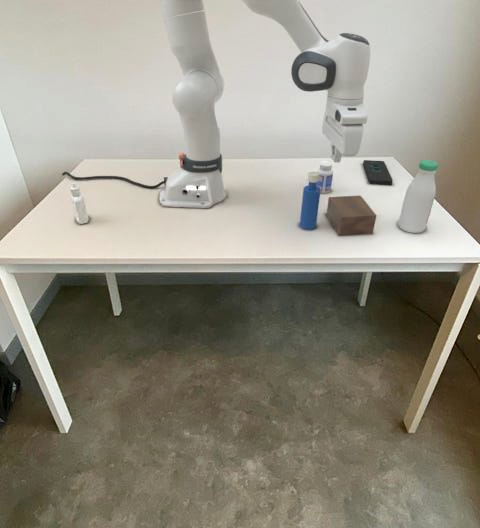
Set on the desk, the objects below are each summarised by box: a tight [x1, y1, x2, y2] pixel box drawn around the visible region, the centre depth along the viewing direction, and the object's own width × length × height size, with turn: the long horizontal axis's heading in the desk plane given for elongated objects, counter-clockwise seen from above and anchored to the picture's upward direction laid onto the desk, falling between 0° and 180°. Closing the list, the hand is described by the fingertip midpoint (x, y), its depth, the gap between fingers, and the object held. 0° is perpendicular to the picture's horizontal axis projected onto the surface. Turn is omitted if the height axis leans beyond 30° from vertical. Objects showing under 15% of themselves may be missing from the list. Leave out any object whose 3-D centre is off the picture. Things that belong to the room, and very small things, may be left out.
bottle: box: [299, 171, 321, 231], centre depth 117 cm, size 14×5×15 cm
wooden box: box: [326, 195, 377, 236], centre depth 120 cm, size 10×13×6 cm
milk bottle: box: [397, 159, 439, 234], centre depth 115 cm, size 8×8×20 cm
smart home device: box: [362, 159, 394, 186], centre depth 153 cm, size 8×2×20 cm
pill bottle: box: [316, 161, 334, 194], centre depth 139 cm, size 5×5×10 cm
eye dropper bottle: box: [69, 182, 89, 225], centre depth 120 cm, size 4×6×12 cm
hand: (335, 160), depth 110 cm, fingers closed
